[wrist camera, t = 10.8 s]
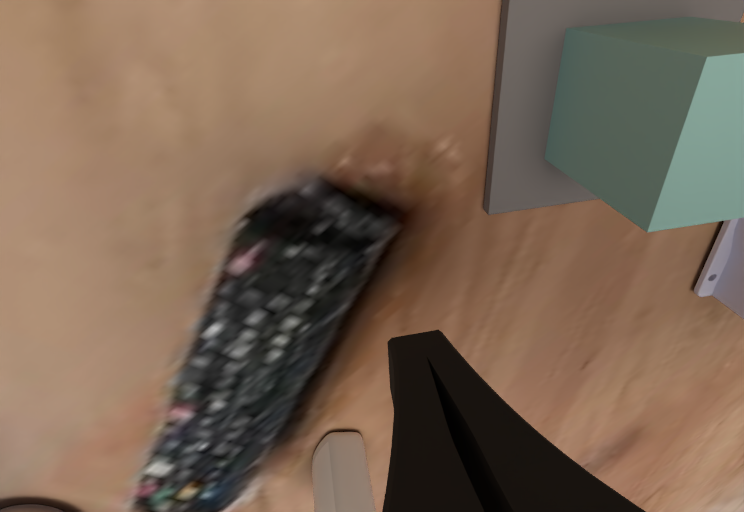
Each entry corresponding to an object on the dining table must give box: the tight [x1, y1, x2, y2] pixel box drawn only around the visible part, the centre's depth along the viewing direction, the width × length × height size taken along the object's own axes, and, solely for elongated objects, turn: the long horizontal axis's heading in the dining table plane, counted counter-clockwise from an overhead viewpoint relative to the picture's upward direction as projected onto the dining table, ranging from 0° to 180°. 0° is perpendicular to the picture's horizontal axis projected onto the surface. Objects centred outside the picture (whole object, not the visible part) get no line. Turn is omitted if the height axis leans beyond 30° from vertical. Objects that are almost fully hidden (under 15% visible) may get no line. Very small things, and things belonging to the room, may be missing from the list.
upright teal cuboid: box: [544, 17, 744, 232], centre depth 16 cm, size 5×5×7 cm
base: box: [484, 0, 744, 215], centre depth 19 cm, size 10×10×1 cm
